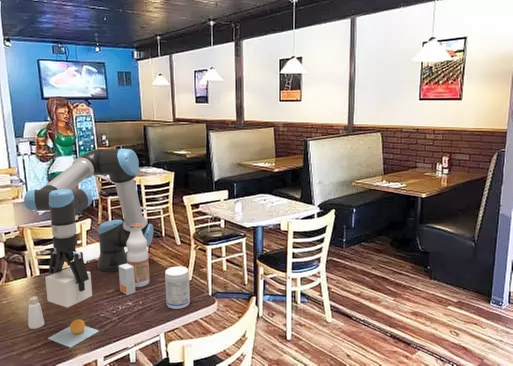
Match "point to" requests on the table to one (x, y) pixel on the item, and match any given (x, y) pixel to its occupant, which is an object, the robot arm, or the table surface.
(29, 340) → the table surface
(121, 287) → the skincare box
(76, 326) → the ball
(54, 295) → the plain cream cube
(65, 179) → the robot arm
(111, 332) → the table surface
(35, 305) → the pepper shaker
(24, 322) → the table surface
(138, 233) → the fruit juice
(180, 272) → the supplement tub
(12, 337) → the table surface
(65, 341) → the plain pale blue panel
